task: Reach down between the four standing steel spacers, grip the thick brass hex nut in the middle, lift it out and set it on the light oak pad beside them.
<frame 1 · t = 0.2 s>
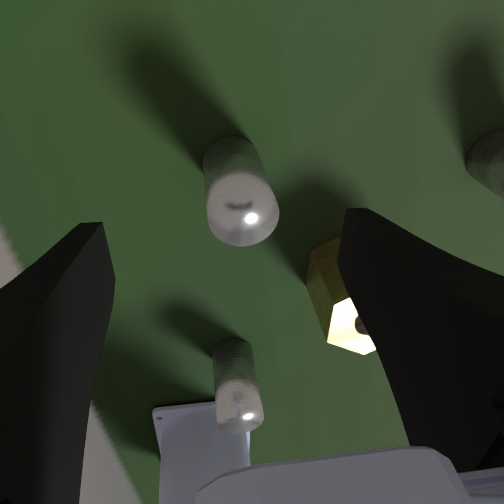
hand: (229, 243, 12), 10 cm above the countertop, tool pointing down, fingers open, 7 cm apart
steel spacers: (345, 266, 26), on the countertop
brass nut: (344, 266, 27), on the countertop
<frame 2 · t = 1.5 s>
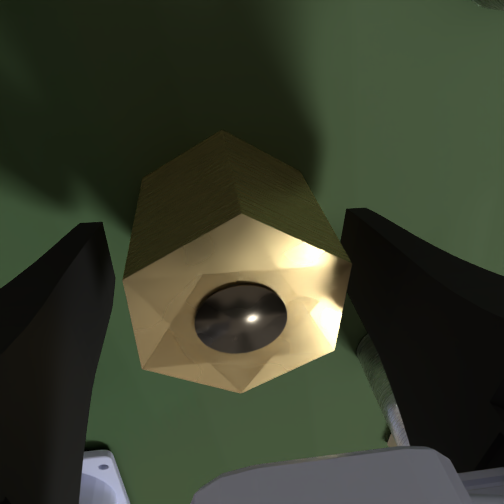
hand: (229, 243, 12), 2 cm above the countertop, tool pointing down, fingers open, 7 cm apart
steel spacers: (224, 215, 13), on the countertop
brass nut: (224, 213, 14), on the countertop
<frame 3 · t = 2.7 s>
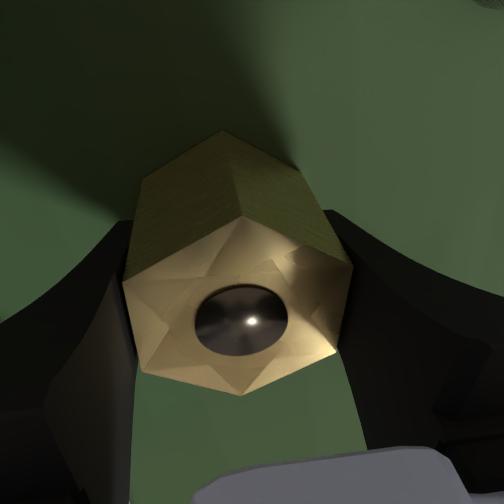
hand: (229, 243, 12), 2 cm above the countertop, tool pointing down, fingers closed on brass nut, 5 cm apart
brass nut: (224, 215, 13), on the countertop, touching gripper
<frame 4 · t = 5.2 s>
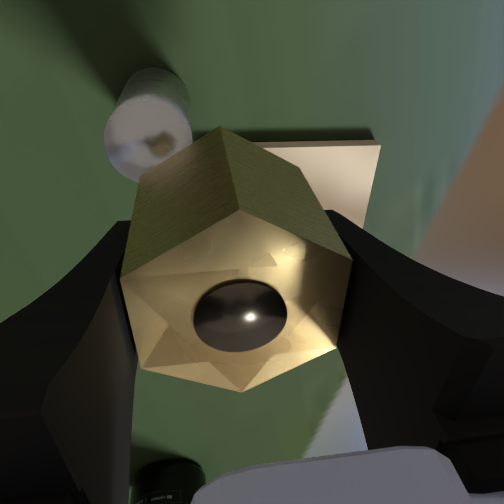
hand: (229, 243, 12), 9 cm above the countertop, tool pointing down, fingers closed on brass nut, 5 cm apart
oak pad: (285, 202, 22), on the countertop
supplement bottle: (169, 474, 38), on the countertop
brass nut: (223, 211, 13), point 8 cm above the countertop, touching gripper
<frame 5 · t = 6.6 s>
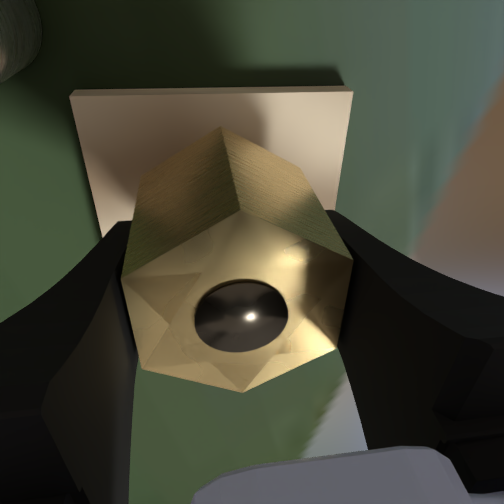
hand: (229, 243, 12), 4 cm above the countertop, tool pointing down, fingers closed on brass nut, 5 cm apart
oak pad: (218, 183, 15), on the countertop
brass nut: (223, 211, 13), point 2 cm above the countertop, touching gripper
when the fingers open (4 cm above the countertop, at t = 7.6 s): brass nut drops 1 cm, resting on oak pad.
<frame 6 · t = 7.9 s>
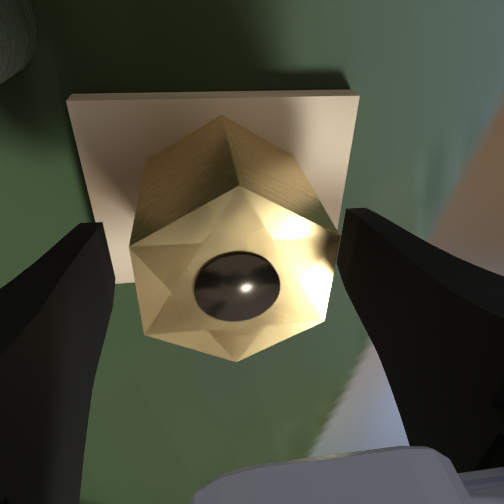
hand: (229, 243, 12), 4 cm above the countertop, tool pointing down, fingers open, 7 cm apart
oak pad: (220, 189, 15), on the countertop
brass nut: (222, 196, 14), point 1 cm above the countertop, touching oak pad
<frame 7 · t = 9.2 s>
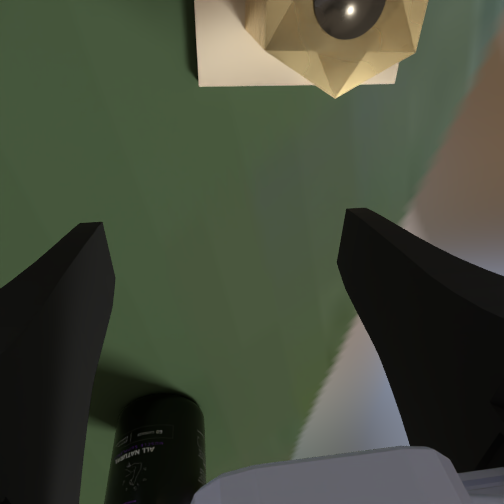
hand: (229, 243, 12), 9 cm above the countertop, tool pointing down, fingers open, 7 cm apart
supplement bottle: (161, 414, 33), on the countertop
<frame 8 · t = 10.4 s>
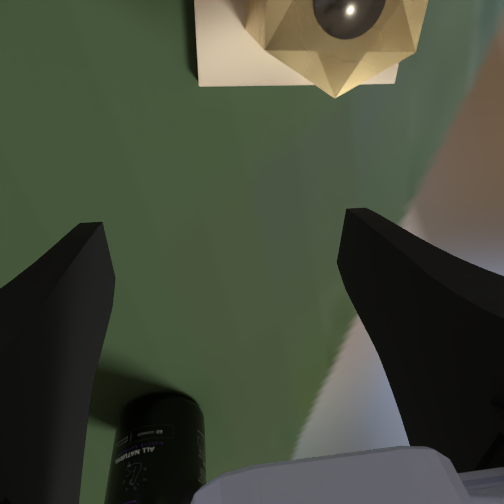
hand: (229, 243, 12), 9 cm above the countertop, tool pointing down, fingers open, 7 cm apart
supplement bottle: (161, 414, 33), on the countertop
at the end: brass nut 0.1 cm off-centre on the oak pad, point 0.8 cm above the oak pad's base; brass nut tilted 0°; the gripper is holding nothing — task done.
